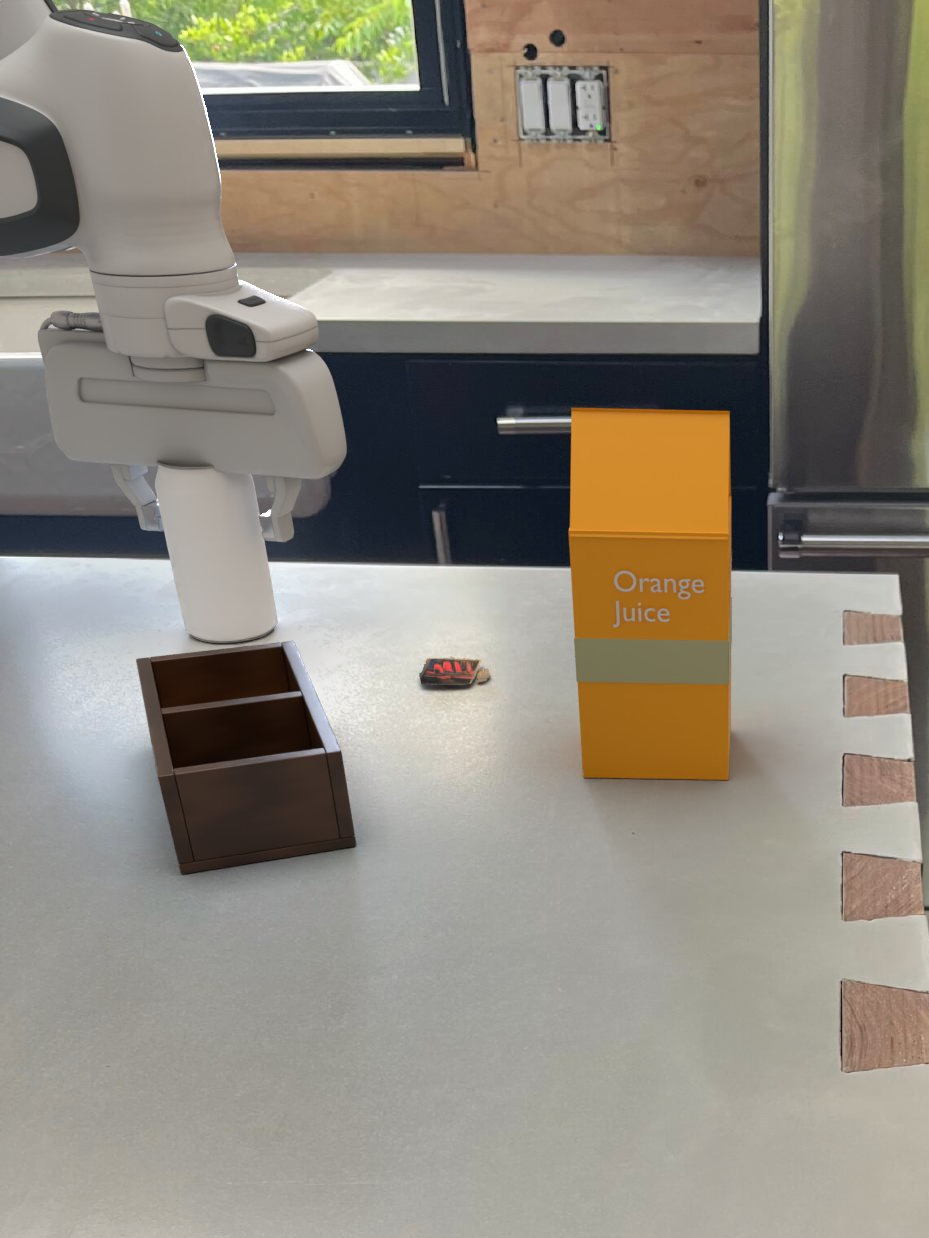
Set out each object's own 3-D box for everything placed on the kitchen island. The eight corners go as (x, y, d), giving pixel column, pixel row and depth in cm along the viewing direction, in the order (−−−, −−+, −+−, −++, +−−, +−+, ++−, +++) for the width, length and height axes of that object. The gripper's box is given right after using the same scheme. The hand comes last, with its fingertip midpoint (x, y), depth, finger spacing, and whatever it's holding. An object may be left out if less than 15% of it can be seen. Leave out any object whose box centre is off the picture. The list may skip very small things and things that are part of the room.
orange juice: (729, 781, 89) (730, 427, 77) (581, 778, 89) (560, 424, 77) (732, 728, 95) (732, 395, 84) (594, 726, 95) (576, 391, 84)
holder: (180, 875, 78) (157, 776, 75) (156, 746, 91) (135, 658, 88) (356, 846, 81) (341, 751, 78) (308, 726, 94) (293, 640, 91)
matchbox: (421, 690, 99) (420, 683, 99) (417, 662, 103) (416, 656, 103) (492, 685, 100) (491, 678, 100) (485, 658, 104) (485, 652, 104)
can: (243, 650, 105) (210, 473, 98) (166, 638, 106) (128, 463, 99) (297, 621, 110) (268, 450, 103) (222, 609, 111) (189, 441, 104)
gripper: (0, 316, 95) (58, 535, 103) (291, 333, 92) (328, 559, 100) (61, 301, 101) (112, 511, 108) (339, 316, 97) (371, 532, 105)
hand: (217, 534), depth 104 cm, fingers open, 8 cm apart
